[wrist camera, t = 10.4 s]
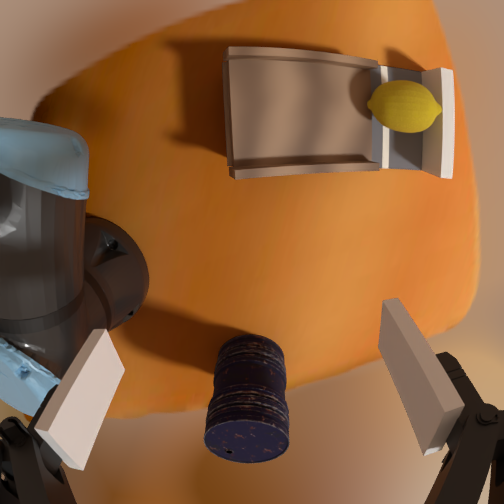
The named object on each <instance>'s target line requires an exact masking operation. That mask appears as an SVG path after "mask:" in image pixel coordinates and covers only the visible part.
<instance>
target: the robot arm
mask: <svg viewBox="0 0 504 504" xmlns="http://www.w3.org/2000/svg"><path fill="white" fill-rule="evenodd" d="M88 165H89V149H88V146H87V143H86V141H85V140H84V139H83V138H82V137H81V136H80V135H79V134H78V133H76V132H74V131H72V130H69V129H66V128H62V127H59V126H55V125H50V124H45V123H40V122H34V121H28V120H21V119H13V118H3V117H0V399H2V400H3V401H4V402H6V403H7V404H9V405H10V406H12V407H14V408H15V409H17V410H19V411H21V412H23V413H25V414H28V415H30V416H33V419H32V420H31V422H30V424H29V426H28V428H26V427H25V426H24V425H23V423H22V422H21V421H20V420H19V419H18V418H17V417H8V418H6V419H4V420H3V421H2V422H1V423H0V436H1V437H2V439H0V504H77V503H76V501H75V498H74V496H73V493H72V491H71V488H70V486H69V483H68V480H67V478H66V475H65V472H64V470H63V468H62V466H61V465H60V464H61V462H62V460H63V461H64V462H65V463H66V464H67V465H68V466H69V467H71V468H75V469H79V470H84V467H85V465H86V462H87V459H88V457H89V454H90V452H91V449H92V446H93V444H94V441H95V438H96V436H97V434H98V431H99V429H100V427H101V424H102V422H103V419H104V417H105V414H106V412H107V410H108V407H109V405H110V403H111V400H112V398H113V396H114V393H115V391H116V389H117V386H118V384H119V382H120V380H121V377H122V375H123V373H124V371H125V369H124V367H123V365H122V363H121V361H120V358H119V356H118V354H117V352H116V350H115V348H114V346H113V343H112V341H111V339H110V337H109V334H108V332H109V331H111V330H113V329H114V328H116V327H118V326H119V325H121V324H122V323H124V322H126V321H127V320H129V319H130V318H131V317H133V316H134V315H135V314H136V312H137V311H138V310H139V308H140V306H141V305H142V303H143V301H144V300H145V298H146V295H147V292H148V287H149V274H148V268H147V264H146V261H145V259H144V256H143V254H142V252H141V250H140V249H139V247H138V246H137V244H136V243H135V242H134V240H133V239H132V238H131V237H130V236H129V235H128V234H127V233H126V232H125V231H124V230H122V229H121V228H120V227H118V226H117V225H115V224H113V223H111V222H109V221H107V220H104V219H100V218H94V217H87V218H85V213H86V201H87V199H88V198H89V189H88V187H87V185H88ZM378 348H379V350H380V352H381V354H382V356H383V359H384V361H385V363H386V365H387V368H388V370H389V372H390V374H391V377H392V379H393V381H394V384H395V386H396V388H397V391H398V393H399V395H400V398H401V400H402V403H403V405H404V407H405V410H406V412H407V415H408V417H409V419H410V422H411V425H412V427H413V430H414V432H415V435H416V437H417V440H418V443H419V445H420V448H421V450H422V453H423V456H425V455H428V454H431V453H434V452H437V451H440V450H442V448H443V446H444V444H445V443H447V445H448V447H449V451H448V453H447V454H446V456H445V458H444V459H443V461H442V463H443V465H442V467H441V469H440V472H439V474H438V476H437V478H436V481H435V483H434V485H433V487H432V489H431V491H430V493H429V495H428V497H427V499H426V501H425V503H424V504H477V503H478V500H479V498H480V495H481V492H482V489H483V486H484V484H485V481H486V477H487V474H488V471H489V468H490V465H491V478H490V490H489V500H488V504H504V410H498V409H497V408H496V407H495V406H493V405H491V404H486V403H484V402H483V400H482V399H481V397H480V396H479V394H478V392H477V391H476V389H475V387H474V386H473V384H472V383H471V381H470V380H469V378H468V376H466V373H465V372H464V370H463V369H462V367H461V365H460V364H459V362H458V361H457V359H456V358H455V357H453V356H452V355H450V354H449V353H448V352H444V353H440V354H436V355H435V354H434V352H433V351H432V349H431V347H430V346H429V344H428V343H427V341H426V339H425V338H424V336H423V335H422V333H421V332H420V330H419V329H418V327H417V325H416V324H415V322H414V321H413V319H412V318H411V316H410V315H409V313H408V312H407V310H406V309H405V307H404V306H403V305H402V303H401V302H400V300H399V299H398V298H394V299H389V300H383V303H382V315H381V326H380V335H379V344H378ZM1 473H2V474H3V475H4V476H5V479H4V480H2V479H1Z"/></svg>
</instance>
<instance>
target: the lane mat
mask: <svg viewBox="0 0 504 504" xmlns="http://www.w3.org/2000/svg"><path fill="white" fill-rule="evenodd" d="M387 71H388V82H390V81H396V80H407V81H412V82H416V83H419V84H421V85H422V74H421V72H419V71H413V70H407V69H401V68H394V67H387ZM370 78H371V96H372V94H373V92H374V91H375V89H376V88H377V87H379V86H380V85H381V84H382V82H381V66H379V65H378V68H376V69H370ZM382 149H383V125H382V124H381V123H379V122H378V121H377V119H376V118H375V117H374V115H373V113H372V161H373V162H377V163H380V166H379V168H382ZM422 150H423V131H421V132H415V133H405V132H399V131H395V130H392V129H389V167H388V168H390V169H410V170H422Z"/></svg>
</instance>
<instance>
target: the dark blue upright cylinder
mask: <svg viewBox="0 0 504 504" xmlns="http://www.w3.org/2000/svg"><path fill="white" fill-rule="evenodd" d="M285 389H286V368H285V364H284V354H283V352H282V350H281V348H280V347H279V346H278V345H277V344H276V343H275V342H274V341H272V340H270V339H268V338H266V337H263V336H259V335H241V336H237V337H234V338H232V339H230V340H229V341H227V342H226V343H225V344H224V345H223V346H222V347H221V349H220V351H219V355H218V361H217V363H216V367H215V372H214V393H213V397H212V399H211V401H210V403H209V406H208V412H207V417H206V428H205V434H204V443H205V446H206V447H207V448H208V449H209V451H210V452H212V453H213V454H215V455H217V456H218V457H220V458H223V459H226V460H229V461H233V462H238V463H261V462H266V461H270V460H273V459H275V458H277V457H279V456H281V455H282V454H284V453H285V452H286V450H287V449H288V447H289V416H288V414H289V410H288V406H287V403H286V401H285Z"/></svg>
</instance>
